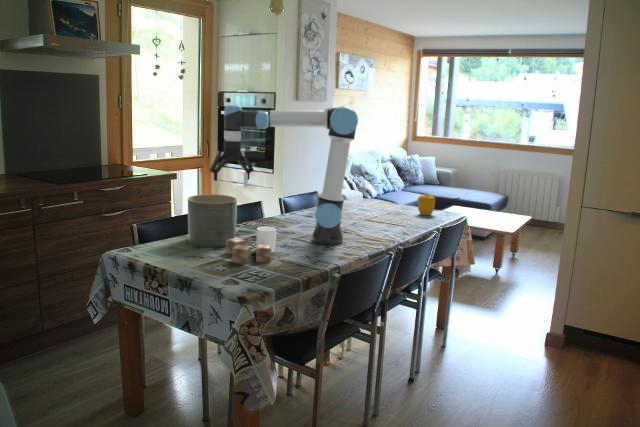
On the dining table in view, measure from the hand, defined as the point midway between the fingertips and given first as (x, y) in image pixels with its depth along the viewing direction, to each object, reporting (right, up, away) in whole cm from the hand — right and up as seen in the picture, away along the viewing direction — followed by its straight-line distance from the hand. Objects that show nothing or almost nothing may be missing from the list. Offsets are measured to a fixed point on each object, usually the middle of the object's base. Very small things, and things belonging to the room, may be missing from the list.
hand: (231, 187), depth 249 cm
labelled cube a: (+4, -29, -11) cm, 31 cm away
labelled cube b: (+16, -31, -19) cm, 40 cm away
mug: (+17, -28, -4) cm, 33 cm away
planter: (-10, -25, +6) cm, 27 cm away
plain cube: (+8, -32, -22) cm, 39 cm away
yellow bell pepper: (+105, -13, +91) cm, 140 cm away
